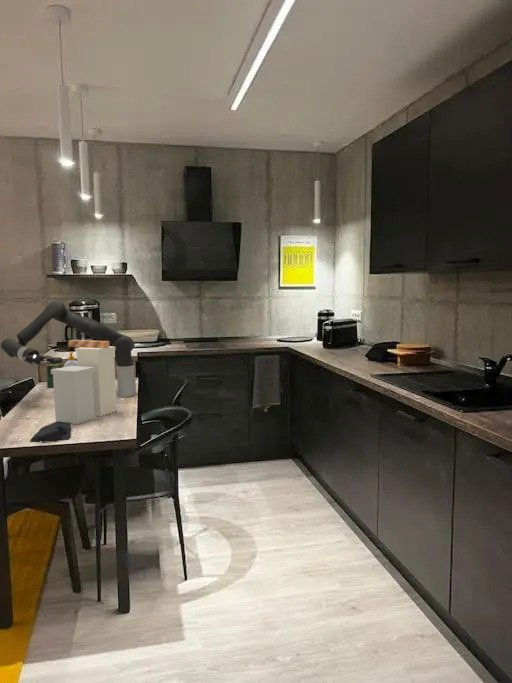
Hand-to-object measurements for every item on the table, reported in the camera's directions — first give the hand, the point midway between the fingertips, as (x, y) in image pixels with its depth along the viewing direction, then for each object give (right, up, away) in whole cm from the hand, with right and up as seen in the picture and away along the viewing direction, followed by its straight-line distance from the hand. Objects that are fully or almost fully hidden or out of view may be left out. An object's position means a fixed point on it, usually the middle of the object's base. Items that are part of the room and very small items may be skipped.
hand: (47, 362), depth 254 cm
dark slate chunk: (+21, -29, -44) cm, 57 cm away
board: (+24, +8, -10) cm, 27 cm away
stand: (+28, -24, -8) cm, 38 cm away
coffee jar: (-20, -18, +62) cm, 67 cm away
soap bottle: (-6, -19, +51) cm, 55 cm away
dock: (+22, -26, -22) cm, 40 cm away
